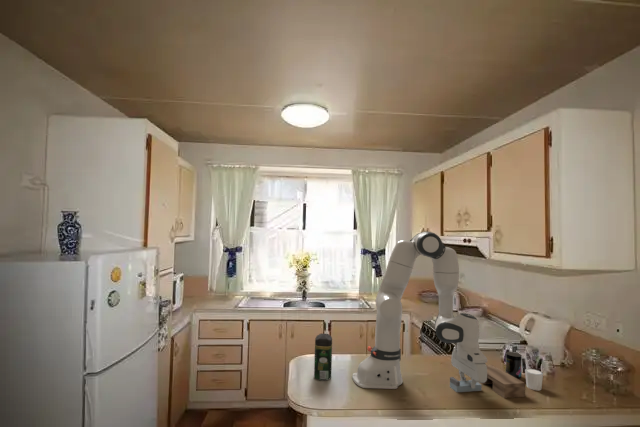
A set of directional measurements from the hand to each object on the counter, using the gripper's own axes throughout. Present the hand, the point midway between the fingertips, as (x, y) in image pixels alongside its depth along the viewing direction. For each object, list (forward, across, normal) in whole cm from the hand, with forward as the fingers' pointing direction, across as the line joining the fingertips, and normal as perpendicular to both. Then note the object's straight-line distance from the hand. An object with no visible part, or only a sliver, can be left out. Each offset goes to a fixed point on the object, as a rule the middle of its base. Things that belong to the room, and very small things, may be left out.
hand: (467, 384), depth 151 cm
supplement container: (+2, -9, +31) cm, 32 cm away
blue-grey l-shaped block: (+2, 0, -1) cm, 2 cm away
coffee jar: (+2, -20, -60) cm, 63 cm away
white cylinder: (+2, +3, +31) cm, 31 cm away
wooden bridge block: (+2, 0, +15) cm, 15 cm away
